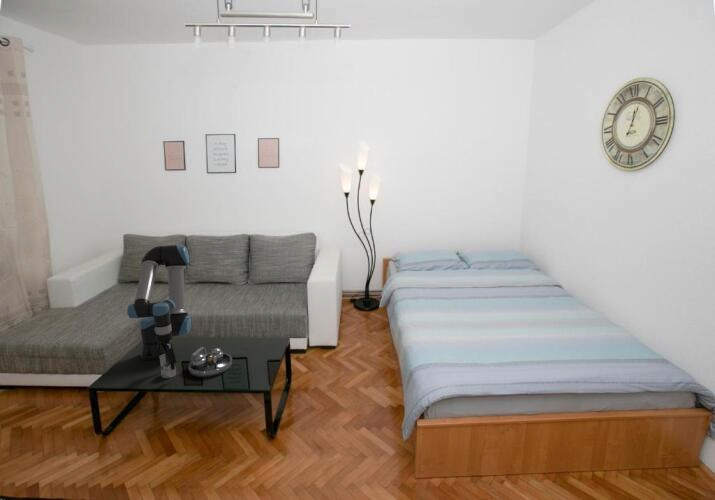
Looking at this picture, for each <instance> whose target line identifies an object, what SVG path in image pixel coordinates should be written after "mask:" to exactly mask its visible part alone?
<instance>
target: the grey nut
mask: <svg viewBox="0 0 715 500" xmlns="http://www.w3.org/2000/svg"><path fill="white" fill-rule="evenodd" d="M168 364H169V361H168V362H166V363H165V364H164V365H163V367H160V368H161V369H160V373H161V377H162V379H170V378H173V377H175V376H176V375H177V373H176V374H175V375H172V376H170V370H169V365H168ZM175 370H176V371H177V367H176V365H175Z"/></svg>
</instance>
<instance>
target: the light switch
mask: <svg viewBox="0 0 715 500" xmlns="http://www.w3.org/2000/svg"><path fill="white" fill-rule="evenodd" d="M197 354H203V355H206V354H207V349H206V347H204V346H201V347H200V348H198V349H197V350H196V351H194V352H193V353H192V354H191V355H190V362H191V367H193V361H192V360H194V356H195V355H197Z"/></svg>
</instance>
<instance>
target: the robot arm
mask: <svg viewBox="0 0 715 500" xmlns="http://www.w3.org/2000/svg"><path fill="white" fill-rule="evenodd" d="M188 264H190V254H189V251H188V249H187V247H186V246H185V245H183V244H174V245H173V244H172V245H158V246H155V247H152V248H151V249H150V250H148V251H147V253H146V254H145V255H144V256H143V257H142V260H141V263H140V268H141V271H140V275H139V280H138V284H137V290H136V293H135V297H134V302H133V303H132V304H129V305H128V306H127V309H126V310H127V312H126V313H127V316H128V317H129V319H141V320H140V322H139V326H140V327H139V330H140V334H141V342H142V345H141V350H140V358H141V360H143V361H156V360H159V363H160V368H163V365H164V364H165V363H167V361H168V362H169V364H168V365H169V370H170V376H172V375H175V374H176V375H177V369H176V370H175V366H176V363H177V360H176V356H175V351H174V348H173V344H172V343H170V341H171V340H172V339H173V337H181V336H182V337H183V336H187V335H188V334H189V333H190V331H191V326H192V316H191V315H190V314H189V313H188V311H187V310H186V305H185V303H186V300H185V269H186V268H187V265H188ZM161 266H164V268H165V269H166V270H167V272H168V273H167V276H168V277H167V278H168V280H167V282H168V283H167V284H168V299H165V300H163V301H159V302H158V301H157V302H155V301H154V302H151V300H152V295H153V290H154V284H155V281H156V280H155V279H156V275H157V270H159V268H160V267H161ZM166 358H167V359H166ZM176 375H175V376H176Z"/></svg>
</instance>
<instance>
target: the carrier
mask: <svg viewBox="0 0 715 500" xmlns="http://www.w3.org/2000/svg"><path fill="white" fill-rule="evenodd" d="M192 361H193V367H191V361H189V364H188V371H189V374H190V375H191V376H193V377H196V378H211V377H212V378H213V377H216V376H219V375H221V374H224V373H225V372H227V371H228V370H229V369H231V367H232V364H233V357H232V355H230V354H229V353H227V352H224V351H223V350H221V348H220V347H215V348H213V349H211V352H206V355H203V354H197V355H195V356H194V360H192Z"/></svg>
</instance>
